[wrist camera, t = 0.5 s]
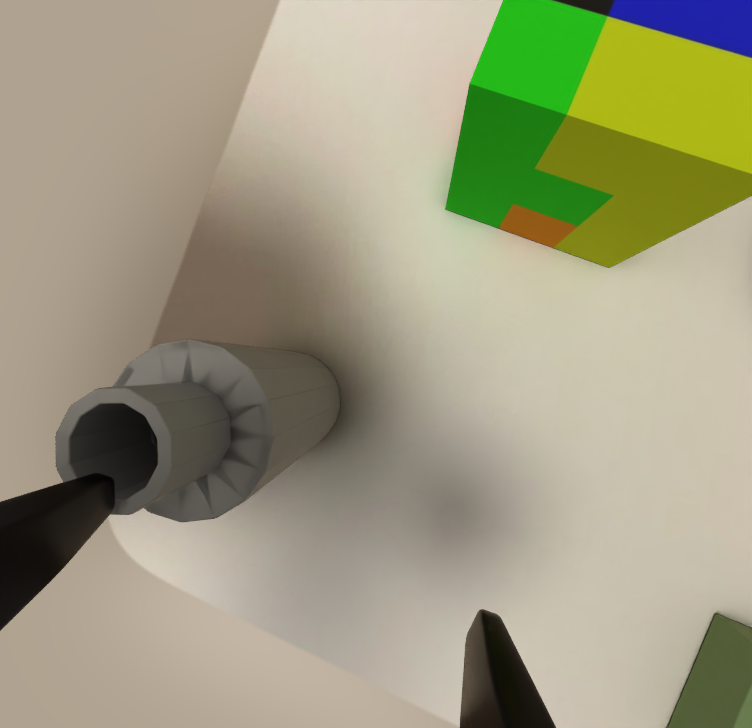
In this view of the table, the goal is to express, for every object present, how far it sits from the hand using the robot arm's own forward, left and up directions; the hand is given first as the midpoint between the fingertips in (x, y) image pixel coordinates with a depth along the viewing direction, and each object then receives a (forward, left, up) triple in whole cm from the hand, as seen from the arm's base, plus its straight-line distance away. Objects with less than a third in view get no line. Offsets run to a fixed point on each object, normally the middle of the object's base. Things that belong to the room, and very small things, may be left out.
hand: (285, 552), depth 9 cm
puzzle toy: (+18, +8, -15) cm, 25 cm away
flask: (-3, +4, -14) cm, 15 cm away
